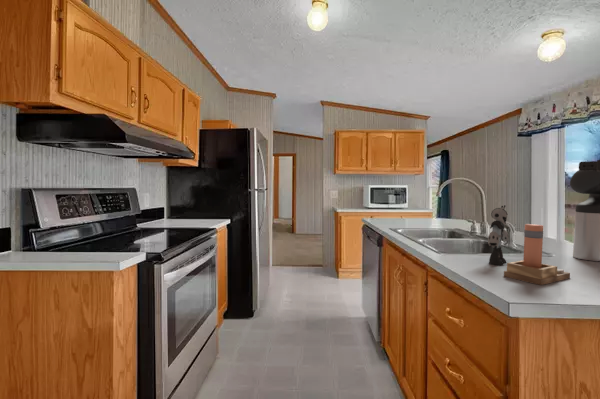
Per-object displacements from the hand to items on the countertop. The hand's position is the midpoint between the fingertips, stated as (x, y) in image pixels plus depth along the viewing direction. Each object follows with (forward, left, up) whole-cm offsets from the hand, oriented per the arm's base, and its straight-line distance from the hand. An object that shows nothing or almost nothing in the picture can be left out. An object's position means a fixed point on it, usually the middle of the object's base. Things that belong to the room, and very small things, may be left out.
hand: (587, 166), depth 90 cm
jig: (-1, -11, -32) cm, 34 cm away
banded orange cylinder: (+2, -11, -31) cm, 32 cm away
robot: (-8, -27, -32) cm, 43 cm away
